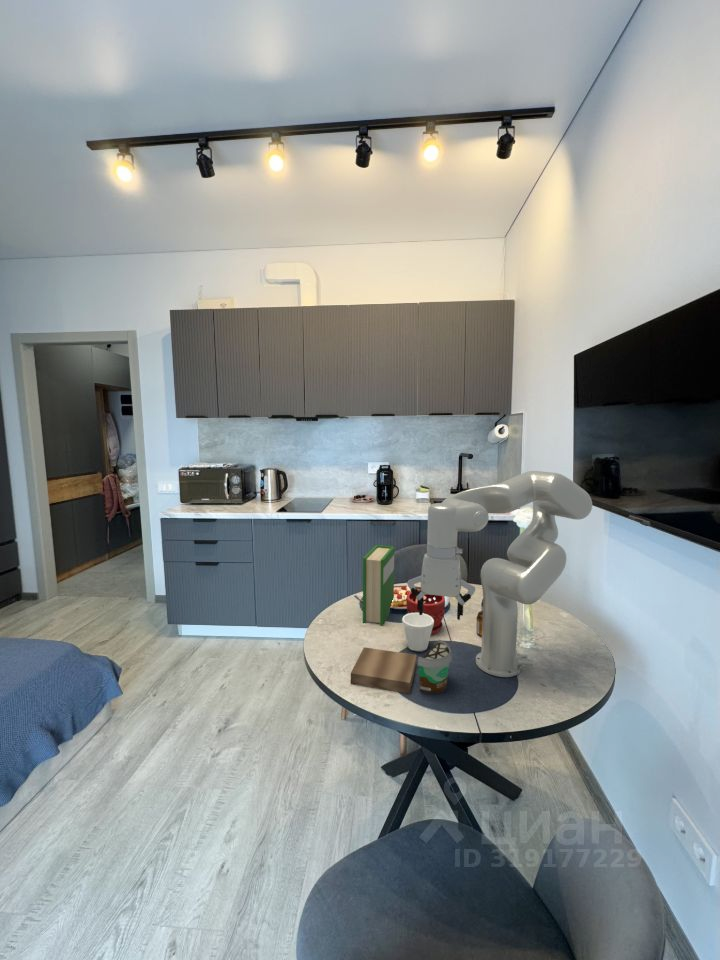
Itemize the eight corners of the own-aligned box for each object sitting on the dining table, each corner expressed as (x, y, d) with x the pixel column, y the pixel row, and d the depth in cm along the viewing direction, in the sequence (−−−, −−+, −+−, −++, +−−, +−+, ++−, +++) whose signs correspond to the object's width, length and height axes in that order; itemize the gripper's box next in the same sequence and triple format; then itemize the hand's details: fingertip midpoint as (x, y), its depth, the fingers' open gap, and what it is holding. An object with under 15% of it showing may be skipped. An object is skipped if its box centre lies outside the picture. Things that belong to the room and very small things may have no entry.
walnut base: (416, 664, 119) (416, 654, 119) (409, 693, 106) (409, 682, 105) (363, 656, 123) (363, 647, 123) (350, 683, 110) (350, 673, 109)
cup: (424, 637, 135) (425, 610, 134) (439, 652, 126) (440, 624, 125) (396, 641, 132) (397, 614, 131) (409, 657, 123) (410, 628, 122)
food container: (438, 703, 102) (439, 665, 101) (416, 693, 106) (417, 657, 104) (458, 680, 112) (459, 645, 110) (438, 672, 115) (439, 638, 114)
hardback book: (382, 626, 143) (383, 559, 140) (362, 623, 145) (363, 557, 143) (393, 606, 160) (394, 546, 157) (375, 603, 162) (375, 545, 159)
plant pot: (404, 620, 148) (405, 588, 146) (441, 620, 147) (442, 588, 146) (407, 637, 135) (408, 603, 134) (447, 638, 134) (448, 603, 133)
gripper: (476, 550, 106) (473, 613, 108) (410, 545, 110) (409, 605, 112) (476, 558, 99) (474, 626, 100) (406, 552, 103) (404, 617, 105)
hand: (439, 615), depth 106 cm, fingers open, 9 cm apart
